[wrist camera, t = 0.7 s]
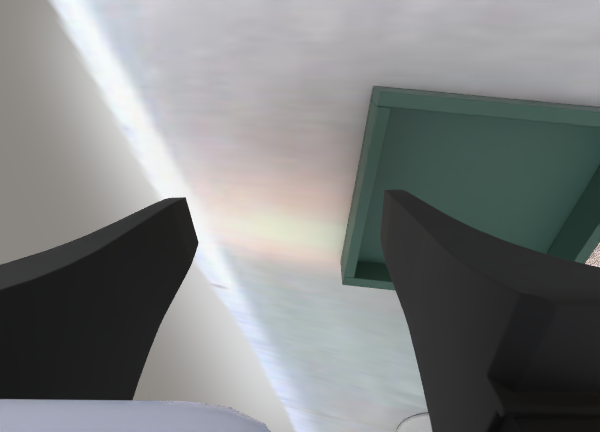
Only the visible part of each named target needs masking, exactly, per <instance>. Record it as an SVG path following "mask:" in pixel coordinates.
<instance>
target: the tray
mask: <svg viewBox="0 0 600 432" xmlns="http://www.w3.org/2000/svg"><path fill="white" fill-rule="evenodd" d="M384 190H405V191H407V192H409V193H410V194H412V195H414V196H416V197H417V198H419V199H421V200H422V201H424V202H426V203H428V204H429V205H431V206H433V207H434V208H436V209H438V210H440V211H441V212H443V213H445V214H447V215H449V216H451V217H452V218H454V219H457V220H459V221H461V222H463V223H465V224H467V225H469V226H471V227H473V228H475V229H477V230H480V231H482V232H485V233H487V234H490V235H492V236H494V237H497V238H499V239H502V240H505V241H508V242H510V243H513V244H516V245H519V246H522V247H526V248H529V249H532V250H535V251H538V252H541V253H545V254H548V255H552V256H555V257H559V258H563V259H567V260H571V261H575V262H579V263H583V264H585V262H586V261H587V259H588V258H589V256H590V255H591V254H592V252H593V251H594V249H595V248H596V246H597V245H598V243H599V242H600V107H592V106H581V105H571V104H560V103H550V102H539V101H528V100H518V99H507V98H496V97H486V96H475V95H464V94H454V93H443V92H432V91H422V90H411V89H401V88H390V87H379V86H373V90H372V95H371V101H370V106H369V112H368V117H367V122H366V128H365V133H364V139H363V144H362V150H361V155H360V160H359V166H358V171H357V177H356V182H355V187H354V193H353V198H352V204H351V209H350V215H349V220H348V225H347V231H346V236H345V242H344V247H343V252H342V258H341V272H342V284H343V285H351V286H360V287H369V288H379V289H388V290H395V287H394V285H393V282H392V279H391V277H390V274H389V271H388V268H387V266H386V263H385V259H384V255H383V251H382V246H381V241H380V233H381V222H382V211H383V199H384Z"/></svg>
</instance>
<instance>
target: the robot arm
mask: <svg viewBox="0 0 600 432" xmlns="http://www.w3.org/2000/svg"><path fill="white" fill-rule="evenodd" d="M380 241H381V246H382V251H383V255H384V259H385V263H386V266H387V268H388V271H389V274H390V277H391V279H392V282H393V285H394V287H395V290H396V293H397V295H398V298H399V300H400V303H401V306H402V308H403V311H404V314H405V317H406V320H407V323H408V327H409V331H410V335H411V339H412V343H413V347H414V350H415V355H416V359H417V363H418V367H419V372H420V376H421V380H422V385H423V389H424V394H425V399H426V403H427V408H428V413H429V417H430V422H431V427H432V432H600V268H599V267H595V266H591V265H587V264H583V263H579V262H575V261H571V260H567V259H563V258H559V257H555V256H552V255H548V254H545V253H541V252H538V251H535V250H532V249H529V248H526V247H522V246H519V245H516V244H513V243H510V242H508V241H505V240H502V239H499V238H497V237H494V236H492V235H490V234H487V233H485V232H482V231H480V230H477V229H475V228H473V227H471V226H469V225H467V224H465V223H463V222H461V221H459V220H457V219H454V218H452V217H451V216H449V215H447V214H445V213H443V212H441V211H440V210H438V209H436V208H434V207H433V206H431V205H429V204H428V203H426V202H424V201H422V200H421V199H419V198H417V197H416V196H414V195H412V194H410V193H409V192H407V191H405V190H384V199H383V211H382V222H381V233H380ZM197 246H198V240H197V236H196V233H195V229H194V226H193V222H192V218H191V215H190V211H189V208H188V204H187V201H186V197H184V198H168V199H165V200H162V201H159V202H157V203H155V204H153V205H150V206H148V207H146V208H144V209H142V210H140V211H138V212H136V213H134V214H132V215H129V216H128V217H125V218H123V219H121V220H119V221H117V222H115V223H113V224H110V225H108V226H106V227H104V228H102V229H99V230H97V231H95V232H93V233H91V234H89V235H86V236H84V237H81V238H79V239H76V240H74V241H71V242H69V243H66V244H63V245H61V246H58V247H55V248H53V249H50V250H47V251H44V252H41V253H37V254H35V255H31V256H28V257H24V258H21V259H18V260H15V261H12V262H9V263H6V264H2V265H0V432H271V431H270V430H269V429H268V427H267V426H266V425H265V424H264V423H262V422H260V421H258V420H255V419H253V418H251V417H249V416H247V415H245V414H243V413H240V412H239V411H236V410H234V409H232V408H229V407H223V406H216V405H209V404H203V403H196V402H189V401H132V400H133V396H134V394H135V390H136V387H137V384H138V381H139V378H140V376H141V373H142V370H143V367H144V364H145V362H146V359H147V356H148V354H149V351H150V348H151V346H152V343H153V341H154V338H155V336H156V333H157V331H158V328H159V326H160V324H161V322H162V320H163V318H164V315H165V314H166V312H167V310H168V308H169V306H170V304H171V302H172V300H173V299H174V297H175V295H176V293H177V291H178V289H179V287H180V285H181V284H182V282H183V280H184V278H185V276H186V274H187V272H188V270H189V268H190V266H191V264H192V261H193V258H194V256H195V253H196V249H197Z"/></svg>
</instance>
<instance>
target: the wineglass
mask: <svg viewBox="0 0 600 432" xmlns="http://www.w3.org/2000/svg"><path fill="white" fill-rule="evenodd" d="M397 432H432V427H431V422H430V417H429V413H424V414H419V415H415V416H412V417H410V418H408V419H406V420H404V421H403V422H402V423H401V424H400V425H399V427H398V429H397Z"/></svg>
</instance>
